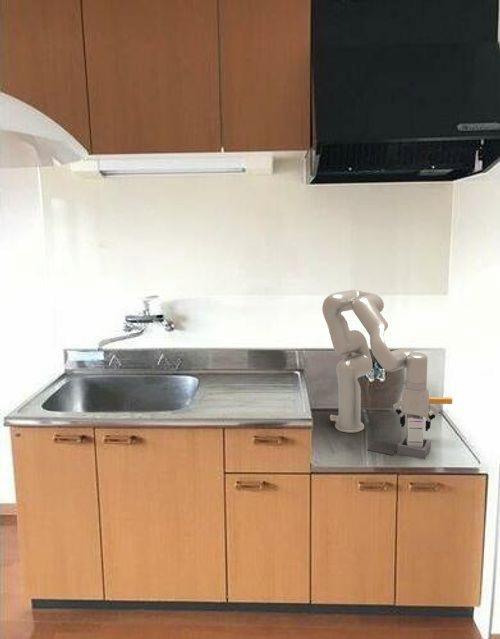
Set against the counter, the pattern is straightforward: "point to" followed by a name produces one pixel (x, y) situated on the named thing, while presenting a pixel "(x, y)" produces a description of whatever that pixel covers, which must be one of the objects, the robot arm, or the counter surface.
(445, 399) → the bar
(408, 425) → the syrup box
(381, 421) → the counter surface
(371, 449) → the mat
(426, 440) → the collar
